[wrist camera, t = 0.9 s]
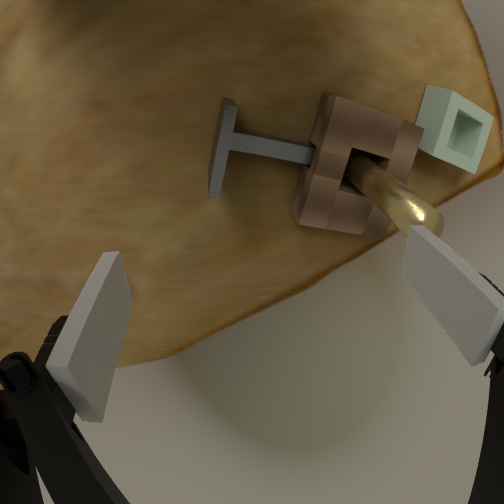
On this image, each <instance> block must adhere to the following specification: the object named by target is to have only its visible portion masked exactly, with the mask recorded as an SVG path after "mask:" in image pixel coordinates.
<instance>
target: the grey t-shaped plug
mask: <svg viewBox="0 0 504 504" xmlns="http://www.w3.org/2000/svg"><path fill="white" fill-rule="evenodd" d="M237 111H238V106H237V105H236V103H235V102H234V101H233V99H228V98H223V99H222V104H221V108H220V113H219V118H218V123H217V128H216V133H215V138H214V143H213V148H212V154H211V159H210V164H209V170H208V197H213V198H220V193H221V188H222V183H223V178H224V173H225V168H226V163H227V158H228V153H229V150H234V151H240V152H246V153H251V154H257V155H262V156H268V157H273V158H278V159H283V160H288V161H293V162H297V163H302V164H307V165H311V164H312V160H313V157H314V153H315V150H316V149H315V148H314V147H313V146H311V145H307V144H303V143H298V142H294V141H290V140H285V139H280V138H276V137H271V136H266V135H261V134H255V133H250V132H245V131H239V130H234V125H235V121H236V116H237Z"/></svg>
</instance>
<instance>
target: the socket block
mask: <svg viewBox="0 0 504 504" xmlns="http://www.w3.org/2000/svg"><path fill="white" fill-rule="evenodd" d="M423 132H424V128H422V127H420V126H417V125H415V124H413V123H410V122H408V121H406V120H403V119H401V118H398V117H396V116H393V115H391V114H388V113H386V112H383V111H380V110H378V109H375V108H372V107H369V106H367V105H364V104H361V103H358V102H355V101H352V100H349V99H346V98H343V97H340V96H337V95H333V94H330V93H326V92H323V94H322V97H321V101H320V105H319V108H318V112H317V116H316V119H315V123H314V127H313V130H312V134H311V137H310V142H312V143H313V144H314V145H315V146H316V150H315V153H314V157H313V160H312V164H311V165H307V164H303V166H302V169H301V173H300V176H299V180H298V183H297V187H296V190H295V194H294V197H293V200H292V204H291V207H290V209H291V211H292V213H293V215H294V217H295V219H296V221H297V223H298V225H304V226H310V227H316V228H322V229H328V230H335V231H341V232H346V233H352V234H358V235H364V236H370V237H375V238H381V239H383V238H384V235H385V233H386V231H387V228H388V226H389V224H390V221H391V220H390V219H389V218H388V217H387V216H386V215H385V214H384V213H383V212H382V211H381V210H380V209H379V208H378V207H377V206H376V205H375V204H374V203H373V202H372V201H371V200H370V199H369V198H368V197H367V196H366V195H365V194H364V193H363V192H362V191H360V190H359V189H358V188H357V187H356V186H355V185H354V184H352V183H348V182H344V181H341V180H342V177H343V174H344V171H345V168H346V165H347V162H348V158H349V155H350V152H351V149H352V147H353V148H356V149H359V150H363V151H366V152H369V153H372V156H371V159H370V160H371V161H372V162H374V163H375V164H377V165H378V166H379V167H381V168H382V169H384V170H385V171H386V172H388V173H389V174H391V175H392V176H393V177H395V178H396V179H397V180H399V181H400V182H401V183H403V184H404V185H405V183H406V181H407V178H408V175H409V173H410V170H411V167H412V164H413V161H414V159H415V156H416V153H417V150H418V147H419V144H420V141H421V138H422V135H423Z"/></svg>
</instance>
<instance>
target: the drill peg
mask: <svg viewBox="0 0 504 504" xmlns="http://www.w3.org/2000/svg"><path fill="white" fill-rule="evenodd" d="M343 175H344V176H345V177H347V178H348V179H349V180H350V181H351V182H352V183H353V184H354V185H355V186H356V187H357V188H358V189H359V190H360V191H362V192H363V193H364V194H365V195H366V196H367V197H368V198H369V199H370V200H371V201H372V202H373V203H374V204H375V205H376V206H377V207H378V208H379V209H380V210H381V211H382V212H383V213H384V214H385V215H386V216H387V217H388V218H389V219H390V220H391V221H392V222H393V223H394V224H395V225H396V226H397V227H398V228H399V229H400V230H401V231H402V232H403V233H404V234H405V236H406V237H408V231H409V226H410V225H423V226H424V227H426V228H427V229H428V230H429V231H431V232H432V233H433V234H434V235H435V236H437V237H438V238H439V237H440V235H441V233H442V231H443V227H444V219H443V216H442V215H441V213H439V212H438V211H437V210H436V209H435V208H433V207H432V206H431V205H430V204H428V203H427V202H426V201H425V200H423V199H422V198H421V197H420V196H418V195H417V194H416V193H415V192H413V191H412V190H411V189H409V188H408V187H407V186H405V185H404V184H403V183H401V182H400V181H399V180H397V179H396V178H395V177H393V176H392V175H391V174H389V173H388V172H386V171H385V170H384V169H382V168H381V167H379V166H378V165H377V164H375V163H374V162H372V161H371V160H369V159H368V158H367V157H365V156H364V155H362V154H361V153H359V152H358V151H356V150H352V149H351V152H350V155H349V158H348V162H347V165H346V168H345V171H344V174H343Z"/></svg>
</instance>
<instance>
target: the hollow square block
mask: <svg viewBox="0 0 504 504" xmlns="http://www.w3.org/2000/svg"><path fill="white" fill-rule="evenodd" d="M493 119H494V117H493V116H492V115H490V114H489V113H487V112H486V111H484V110H483V109H481V108H480V107H478V106H477V105H475V104H474V103H472V102H471V101H469V100H467V99H466V98H464V97H463V96H461V95H459V94H458V93H456V92H454V91H453V90H449V89H444V88H440V87H436V86H431V85H427V86H426V90H425V93H424V97H423V100H422V104H421V107H420V110H419V114H418V117H417V120H416V123H415V125H417V126H420V127H422V128H424V132H423V135H422V138H421V141H420V144H419V147H418V148H419V149H421V150H423V151H425V152H426V153H428V154H430V155H432V156H434V157H437V158H439V159H441V160H444V161H446V162H448V163H451V164H453V165H455V166H457V167H460V168H462V169H464V170H466V171H468V172H471V173H473V174H475V173H476V170H477V167H478V165H479V162H480V159H481V156H482V153H483V150H484V148H485V145H486V141H487V138H488V135H489V132H490V129H491V126H492V122H493Z"/></svg>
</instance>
